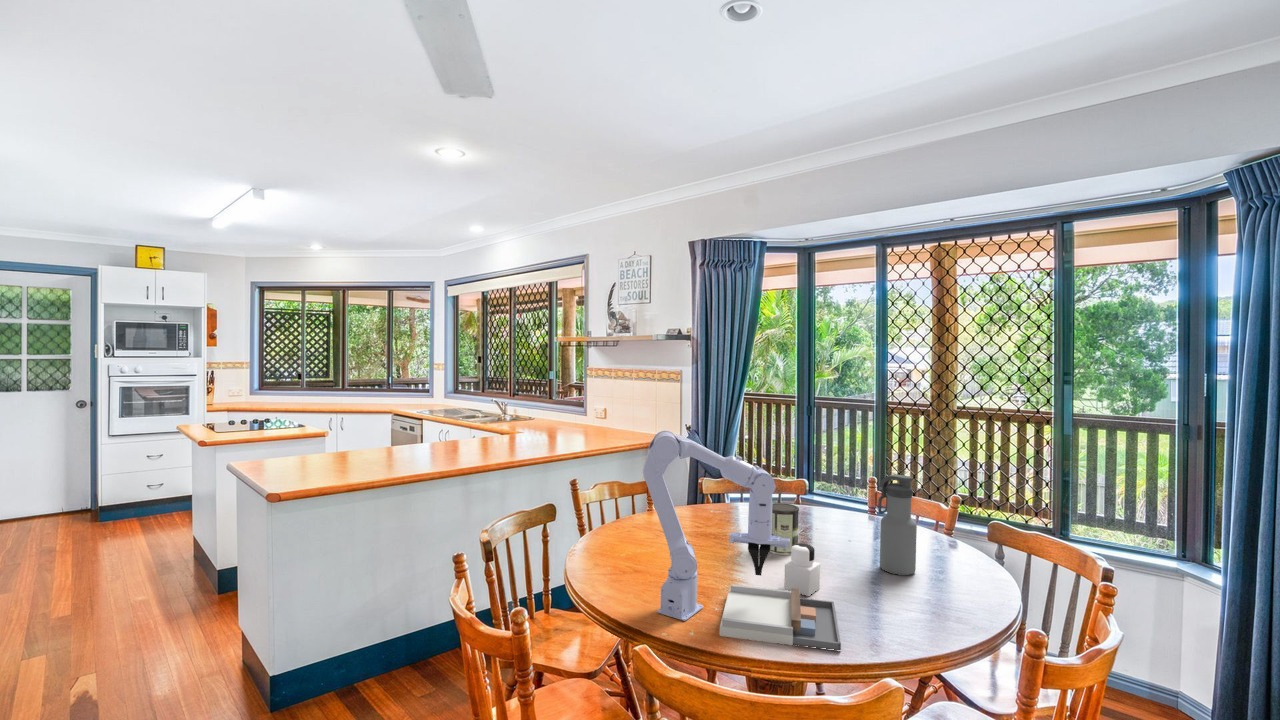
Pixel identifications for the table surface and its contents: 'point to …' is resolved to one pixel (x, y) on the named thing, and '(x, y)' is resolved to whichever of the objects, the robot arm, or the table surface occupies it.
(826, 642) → the box
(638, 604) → the table surface
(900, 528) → the water bottle
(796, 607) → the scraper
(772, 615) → the white rimmed panel
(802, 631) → the tile
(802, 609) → the tile
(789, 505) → the coffee can
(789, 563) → the medicine bottle
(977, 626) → the table surface
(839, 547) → the table surface
